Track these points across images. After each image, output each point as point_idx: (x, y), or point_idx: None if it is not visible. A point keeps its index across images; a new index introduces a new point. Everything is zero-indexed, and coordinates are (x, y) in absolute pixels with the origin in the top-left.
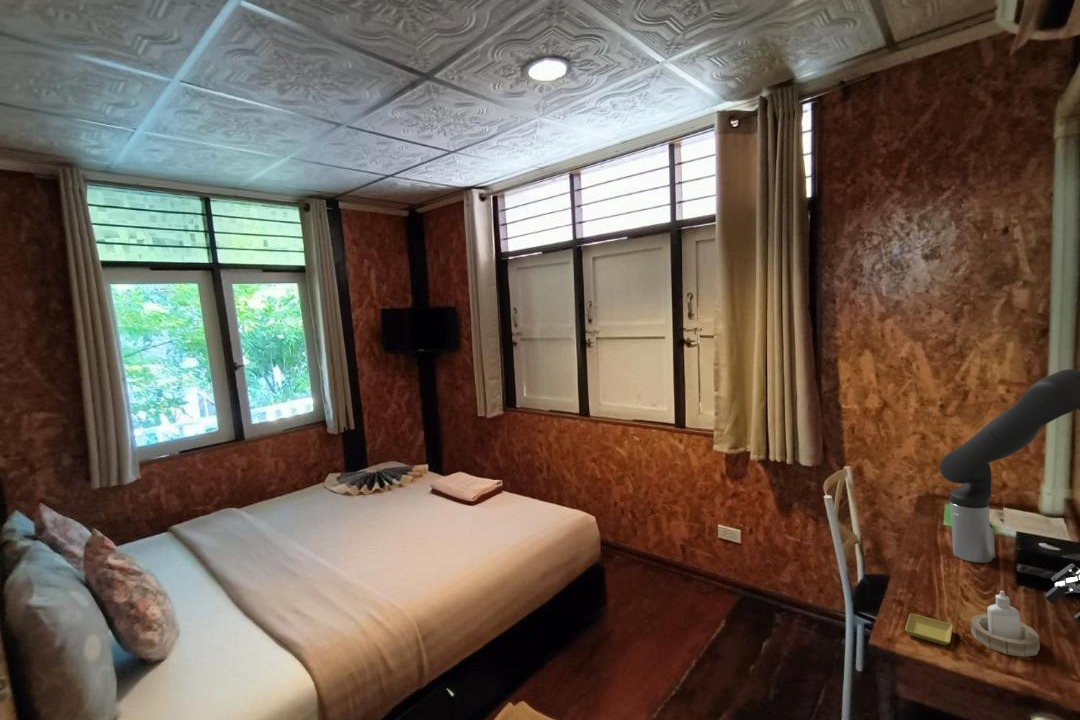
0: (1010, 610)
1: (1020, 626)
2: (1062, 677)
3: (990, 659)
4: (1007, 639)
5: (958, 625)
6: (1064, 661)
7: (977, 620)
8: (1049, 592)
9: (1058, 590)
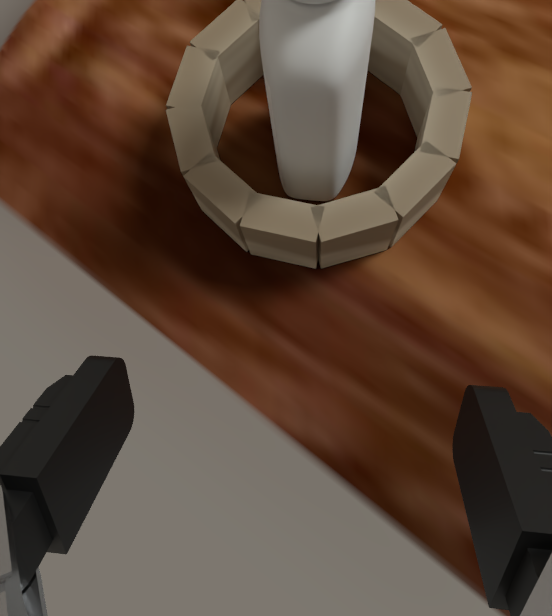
0: (267, 5)
1: (278, 143)
2: (45, 201)
3: (174, 16)
4: (206, 56)
5: (439, 21)
6: (147, 290)
7: (390, 17)
8: (514, 434)
9: (510, 529)
